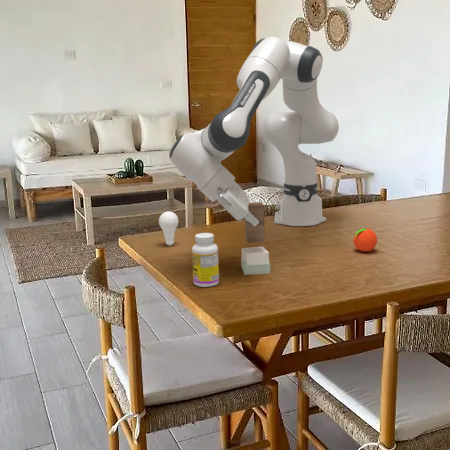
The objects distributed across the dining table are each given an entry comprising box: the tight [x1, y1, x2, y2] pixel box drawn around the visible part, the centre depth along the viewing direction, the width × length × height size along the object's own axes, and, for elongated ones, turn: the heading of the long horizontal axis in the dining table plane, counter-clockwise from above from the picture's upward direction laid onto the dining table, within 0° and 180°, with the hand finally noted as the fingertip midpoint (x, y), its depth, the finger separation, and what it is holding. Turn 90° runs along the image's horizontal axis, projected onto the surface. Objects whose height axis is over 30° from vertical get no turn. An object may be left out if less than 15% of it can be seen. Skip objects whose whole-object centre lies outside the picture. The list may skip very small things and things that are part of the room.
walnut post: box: [244, 201, 266, 244], centre depth 158 cm, size 4×4×10 cm
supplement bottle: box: [191, 232, 220, 288], centre depth 150 cm, size 7×7×13 cm
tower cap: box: [241, 246, 270, 265], centre depth 161 cm, size 6×6×3 cm
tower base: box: [240, 257, 271, 276], centre depth 161 cm, size 7×7×3 cm
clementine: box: [352, 227, 378, 253], centre depth 175 cm, size 8×7×7 cm
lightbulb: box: [158, 211, 179, 247], centre depth 187 cm, size 6×6×11 cm
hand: (257, 221), depth 158 cm, fingers closed on walnut post, 5 cm apart
